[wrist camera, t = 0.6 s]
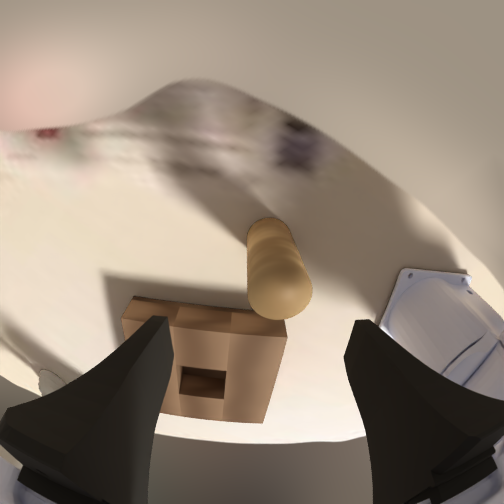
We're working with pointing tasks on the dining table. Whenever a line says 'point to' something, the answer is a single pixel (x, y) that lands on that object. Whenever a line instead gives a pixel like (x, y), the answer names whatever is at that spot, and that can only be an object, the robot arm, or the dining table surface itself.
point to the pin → (275, 271)
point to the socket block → (215, 358)
